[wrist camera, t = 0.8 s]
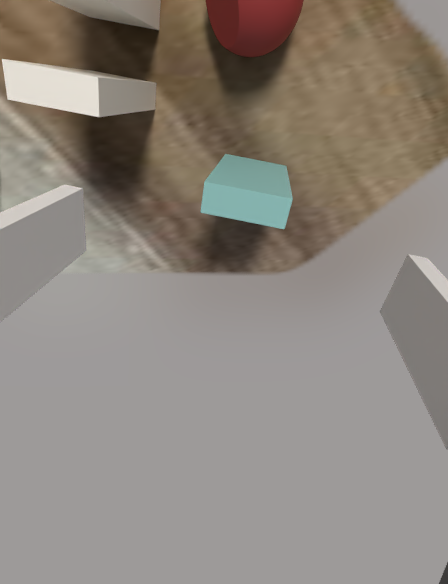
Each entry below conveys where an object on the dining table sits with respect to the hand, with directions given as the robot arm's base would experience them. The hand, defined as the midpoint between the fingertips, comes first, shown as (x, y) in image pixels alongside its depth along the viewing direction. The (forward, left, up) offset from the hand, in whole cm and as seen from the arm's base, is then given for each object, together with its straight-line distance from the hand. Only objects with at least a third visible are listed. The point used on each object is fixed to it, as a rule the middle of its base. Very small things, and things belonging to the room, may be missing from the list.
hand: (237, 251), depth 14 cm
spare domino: (0, 0, -16) cm, 16 cm away
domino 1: (-11, +4, -16) cm, 20 cm away
